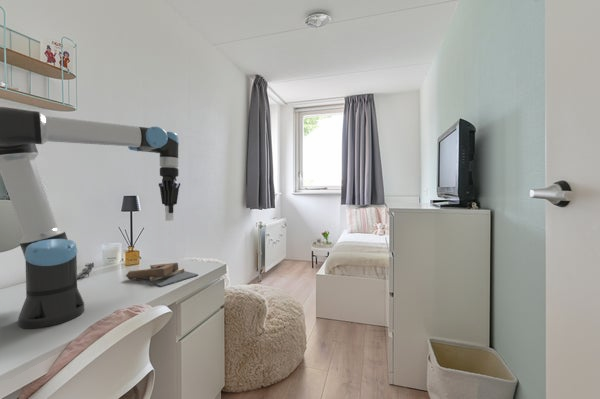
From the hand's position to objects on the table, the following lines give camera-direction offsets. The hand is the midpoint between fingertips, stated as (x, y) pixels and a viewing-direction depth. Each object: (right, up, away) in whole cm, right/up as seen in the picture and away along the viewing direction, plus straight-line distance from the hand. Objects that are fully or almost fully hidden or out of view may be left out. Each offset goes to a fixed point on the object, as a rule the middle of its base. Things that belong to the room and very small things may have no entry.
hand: (169, 220), depth 120 cm
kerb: (-2, -26, +3) cm, 27 cm away
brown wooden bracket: (+1, -22, +1) cm, 22 cm away
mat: (-6, -26, +5) cm, 27 cm away
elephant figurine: (-40, -27, +3) cm, 48 cm away
